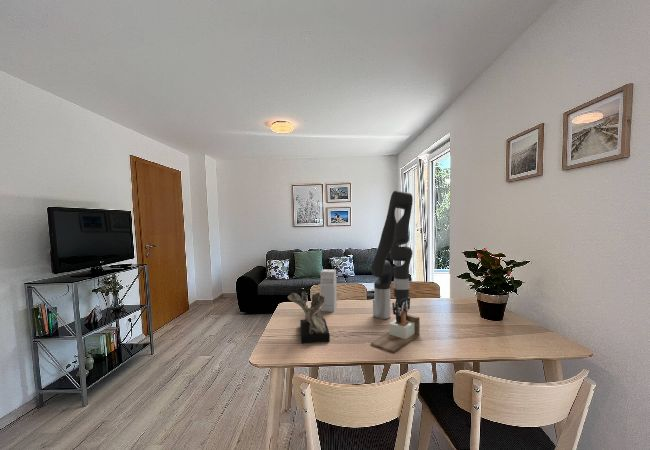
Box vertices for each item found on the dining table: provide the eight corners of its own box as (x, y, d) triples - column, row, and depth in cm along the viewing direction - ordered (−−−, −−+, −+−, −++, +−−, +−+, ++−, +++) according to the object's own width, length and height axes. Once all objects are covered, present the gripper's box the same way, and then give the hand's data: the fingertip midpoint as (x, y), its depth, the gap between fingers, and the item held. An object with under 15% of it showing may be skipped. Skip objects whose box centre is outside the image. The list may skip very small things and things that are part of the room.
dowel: (396, 332, 140) (396, 311, 140) (400, 329, 142) (400, 310, 142) (403, 334, 137) (403, 313, 137) (407, 331, 140) (407, 311, 140)
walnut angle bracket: (370, 345, 131) (370, 325, 131) (397, 328, 149) (397, 311, 149) (393, 353, 123) (393, 332, 122) (419, 335, 141) (419, 317, 140)
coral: (330, 345, 132) (329, 299, 131) (286, 347, 130) (285, 301, 129) (326, 324, 156) (325, 286, 156) (289, 326, 155) (288, 287, 154)
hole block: (389, 334, 140) (388, 323, 140) (398, 328, 146) (398, 318, 146) (405, 339, 133) (405, 328, 133) (414, 333, 140) (414, 322, 140)
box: (336, 307, 186) (336, 269, 185) (334, 311, 177) (333, 272, 177) (324, 306, 187) (323, 269, 187) (321, 310, 179) (320, 271, 178)
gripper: (401, 283, 147) (402, 315, 147) (387, 288, 136) (387, 323, 137) (415, 285, 142) (415, 318, 142) (401, 291, 131) (401, 327, 132)
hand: (401, 320), depth 140 cm, fingers open, 5 cm apart
